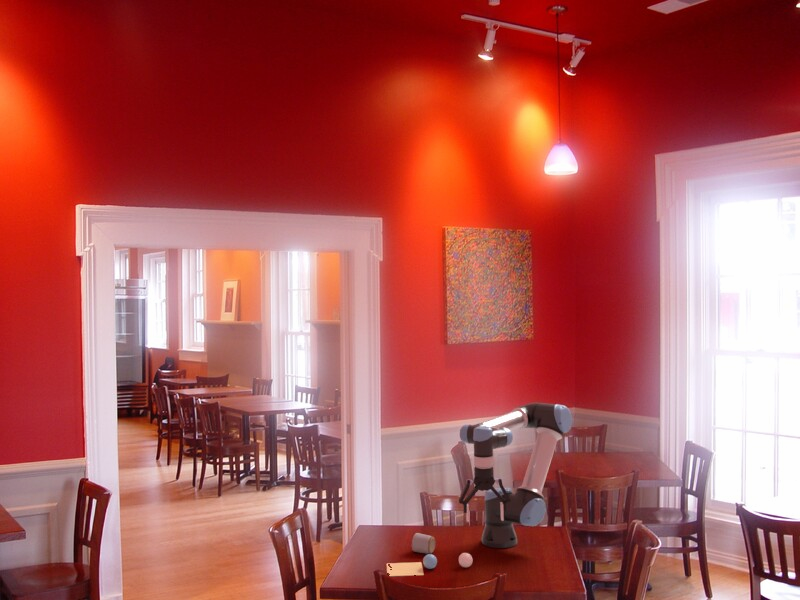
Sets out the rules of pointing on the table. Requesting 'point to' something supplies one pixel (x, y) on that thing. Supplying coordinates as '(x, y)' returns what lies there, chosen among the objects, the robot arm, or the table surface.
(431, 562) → the object ball
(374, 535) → the table surface
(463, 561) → the cue ball
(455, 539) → the table surface
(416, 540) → the ceramic mug
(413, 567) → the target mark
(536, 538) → the table surface
